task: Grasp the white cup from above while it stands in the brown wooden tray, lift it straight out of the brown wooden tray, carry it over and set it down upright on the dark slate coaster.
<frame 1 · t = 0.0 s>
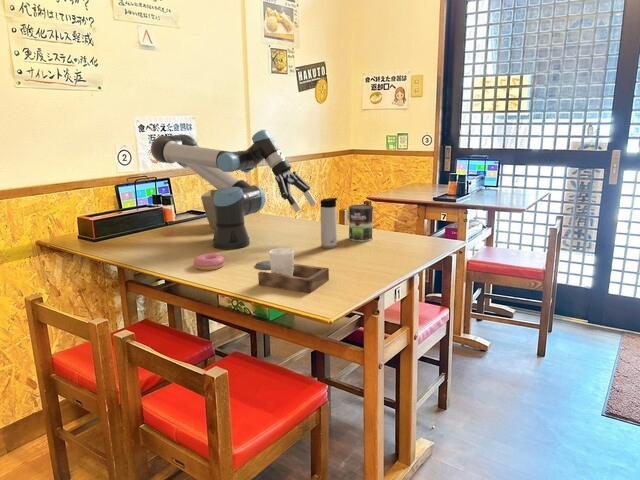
hand: (306, 207, 200), 15 cm above the table, tool tilted 35°, fingers open, 13 cm apart
doughnut: (209, 267, 176), on the table
coaster: (268, 265, 176), on the table
white cup: (282, 281, 160), resting in brown wooden tray
coffee can: (360, 239, 211), on the table
flower pot: (227, 226, 239), on the table
travel mug: (329, 247, 200), on the table
brown wooden tray: (293, 282, 158), on the table
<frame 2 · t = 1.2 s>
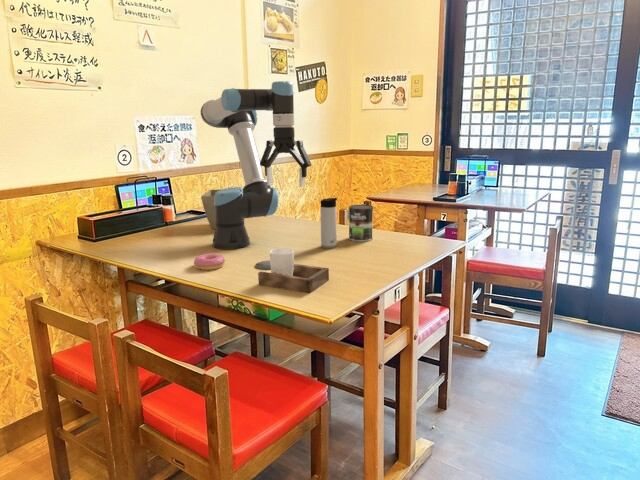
hand: (285, 185, 181), 27 cm above the table, tool pointing down, fingers open, 13 cm apart
nothing on the table moved.
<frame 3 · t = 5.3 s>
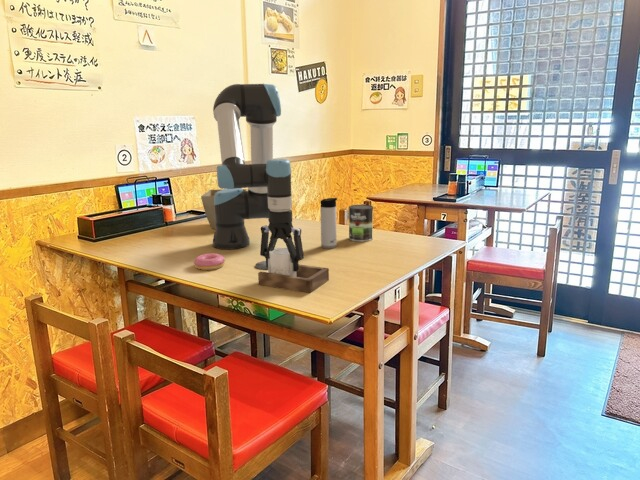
hand: (282, 278, 159), 1 cm above the table, tool pointing down, fingers closed on white cup, 7 cm apart
white cup: (282, 281, 160), resting in brown wooden tray, touching gripper
everything else where it was.
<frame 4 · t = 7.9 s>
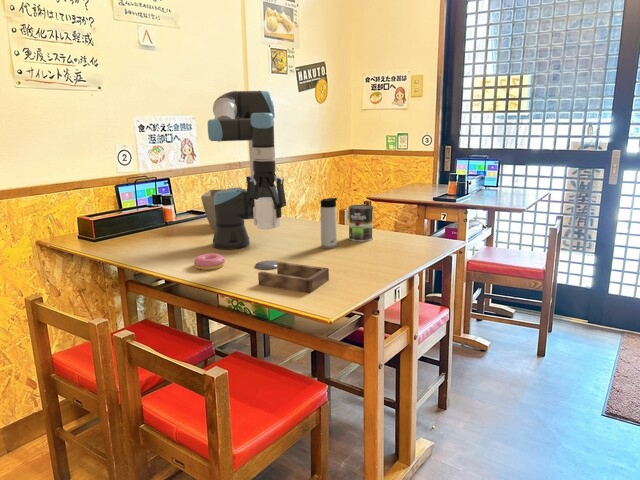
hand: (266, 225, 172), 15 cm above the table, tool pointing down, fingers closed on white cup, 7 cm apart
white cup: (266, 227, 172), point 14 cm above the table, touching gripper
everything else where it was.
when the fingers open (2 cm above the table, at t = 10.8 s): white cup stays where it is, resting on coaster.
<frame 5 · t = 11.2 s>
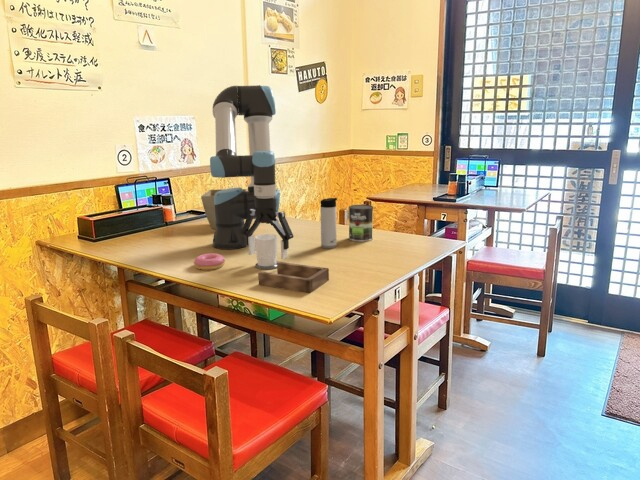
hand: (267, 256, 175), 4 cm above the table, tool pointing down, fingers open, 13 cm apart
white cup: (267, 264, 176), resting on coaster
everything else where it was.
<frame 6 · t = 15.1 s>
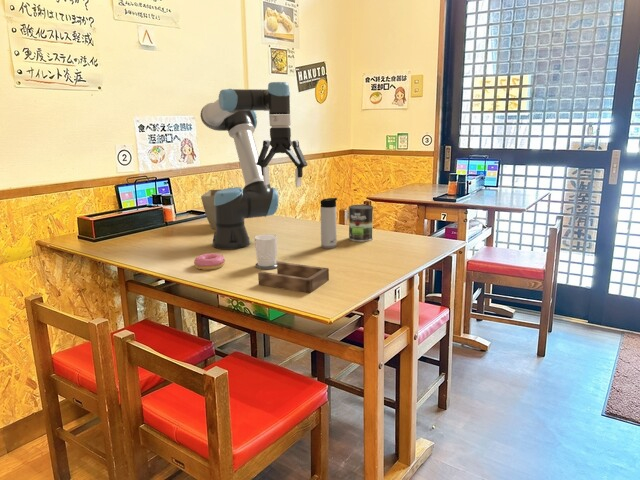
hand: (282, 185, 183), 27 cm above the table, tool pointing down, fingers open, 13 cm apart
nothing on the table moved.
at the end: white cup 0.4 cm from the coaster (horizontally); white cup tilted 0°; the gripper is holding nothing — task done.
